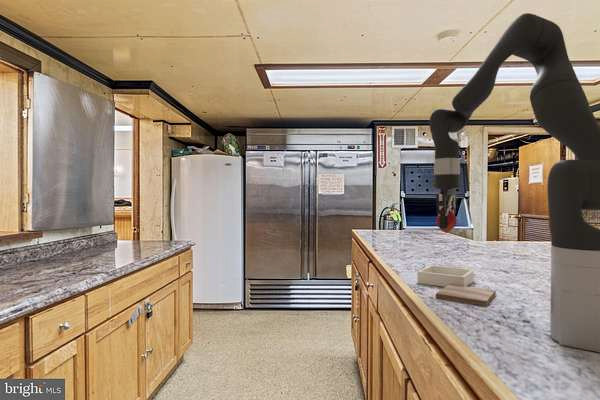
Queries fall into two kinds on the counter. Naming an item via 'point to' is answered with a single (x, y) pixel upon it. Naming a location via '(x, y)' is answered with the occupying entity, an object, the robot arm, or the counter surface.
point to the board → (466, 294)
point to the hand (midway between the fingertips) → (446, 227)
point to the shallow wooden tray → (445, 276)
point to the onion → (451, 222)
